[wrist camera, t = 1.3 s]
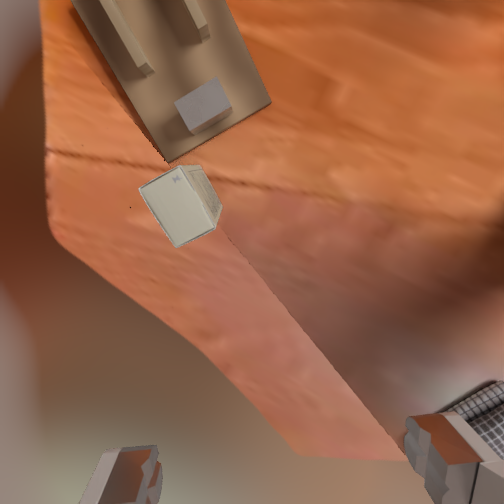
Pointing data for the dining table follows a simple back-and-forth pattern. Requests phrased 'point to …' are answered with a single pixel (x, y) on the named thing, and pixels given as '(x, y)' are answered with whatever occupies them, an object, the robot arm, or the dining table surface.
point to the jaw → (204, 106)
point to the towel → (486, 415)
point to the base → (175, 62)
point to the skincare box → (183, 203)
